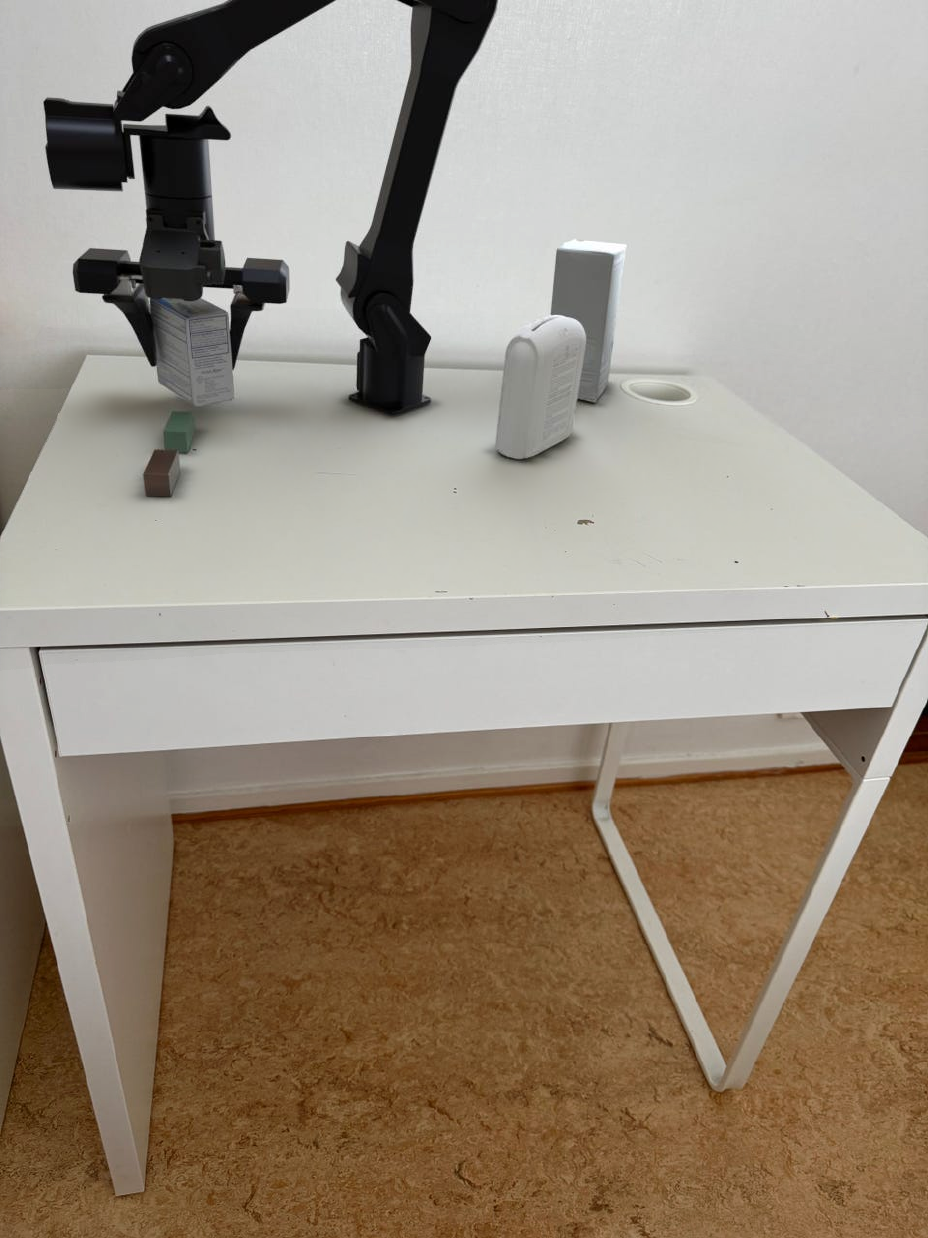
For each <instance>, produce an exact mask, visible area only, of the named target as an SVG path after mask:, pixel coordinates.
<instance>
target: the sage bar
mask: <svg viewBox="0 0 928 1238" xmlns="http://www.w3.org/2000/svg"><path fill="white" fill-rule="evenodd" d="M195 418H196V417H195V412H194V411H185V410H184V411H181V410H172V411H171V413H170V415H169V417H168V418H167V421H166V423H165V425H164V428H163V430H162V437H163V448H164V450H178V452H179V453H183V454H185V453H186V454H187V453H189V450H190V448H191V445H192V443H193V440H194V437H195V435H196V420H195Z"/></svg>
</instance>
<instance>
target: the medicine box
mask: <svg viewBox="0 0 928 1238" xmlns="http://www.w3.org/2000/svg"><path fill="white" fill-rule="evenodd" d="M149 304H150V312H151V319H152V324H153V329H154V335H155V342H156V350H157V365H156V366H155V368H156V374H157V381H158V383H159V384H160V385H162V386H163V387H165V388H166V389H168V390H169V391H171V392H172V393H174V394H175V395H177V396H178V397H180V398H181V399H183V400H185V401H186V402H187V403H189V404H191V405H193V406H194V407H204V406H208V405H215V404H220V403H225V402H230V401H231V402H232V401H233V400H234V399H235V384H234V372H233V371H234V370H233V369H232V354H231V341H230V315H229V312H228V311H227V310H225V309H223V308H221V307H219V306H218V305H215V304H214V303H211V302H210V301H208V300H206V299H204V298H202V297H201V298H200V299H199V300H196V301H184V300H183V299H173V298H162V299H161V300H156V299H151V298H149Z"/></svg>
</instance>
